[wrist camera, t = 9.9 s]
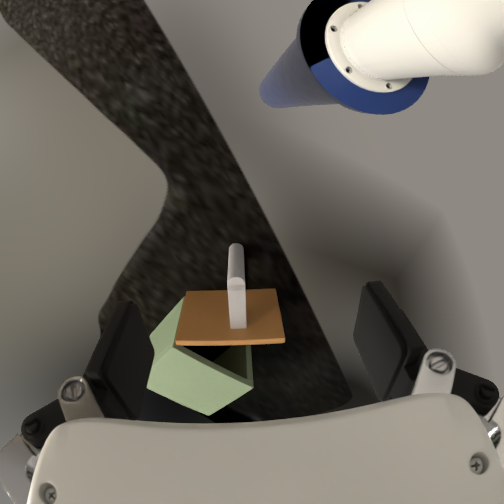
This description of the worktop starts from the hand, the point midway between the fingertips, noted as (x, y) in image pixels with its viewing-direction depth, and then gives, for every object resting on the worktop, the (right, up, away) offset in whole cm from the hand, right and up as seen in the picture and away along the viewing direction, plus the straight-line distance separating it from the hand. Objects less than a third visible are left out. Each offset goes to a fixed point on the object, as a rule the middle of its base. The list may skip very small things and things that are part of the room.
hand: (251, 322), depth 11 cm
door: (-3, +2, +28) cm, 29 cm away
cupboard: (-8, -8, +34) cm, 36 cm away
